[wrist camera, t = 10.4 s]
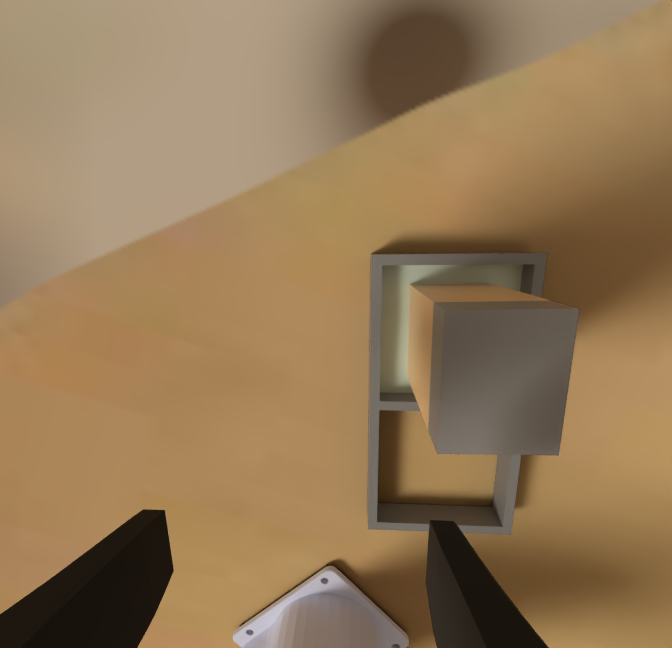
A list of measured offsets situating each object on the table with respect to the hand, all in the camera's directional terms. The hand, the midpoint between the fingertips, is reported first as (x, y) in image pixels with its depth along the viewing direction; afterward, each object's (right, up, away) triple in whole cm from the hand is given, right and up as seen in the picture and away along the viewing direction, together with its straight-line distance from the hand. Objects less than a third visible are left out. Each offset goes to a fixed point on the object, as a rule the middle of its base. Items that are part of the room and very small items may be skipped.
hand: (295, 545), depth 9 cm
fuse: (+7, +6, +9) cm, 12 cm away
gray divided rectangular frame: (+7, +2, +10) cm, 12 cm away
